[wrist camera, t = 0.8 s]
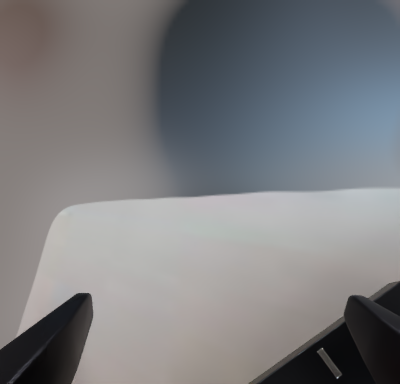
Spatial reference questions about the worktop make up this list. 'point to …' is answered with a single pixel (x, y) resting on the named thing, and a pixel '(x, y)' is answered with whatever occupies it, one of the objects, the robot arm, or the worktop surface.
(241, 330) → the worktop surface
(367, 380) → the dial panel
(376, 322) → the robot arm
